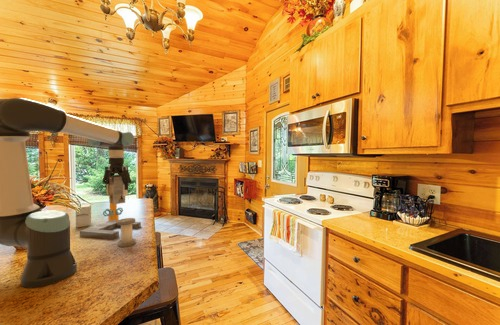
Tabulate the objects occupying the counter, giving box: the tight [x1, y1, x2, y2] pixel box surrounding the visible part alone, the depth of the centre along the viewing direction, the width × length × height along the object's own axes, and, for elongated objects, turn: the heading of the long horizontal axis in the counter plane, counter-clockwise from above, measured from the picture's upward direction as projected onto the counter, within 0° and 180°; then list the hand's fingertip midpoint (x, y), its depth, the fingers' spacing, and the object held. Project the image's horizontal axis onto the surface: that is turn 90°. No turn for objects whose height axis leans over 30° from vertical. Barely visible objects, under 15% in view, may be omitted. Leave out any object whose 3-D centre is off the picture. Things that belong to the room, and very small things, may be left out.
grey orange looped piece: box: [102, 202, 124, 221], centre depth 147 cm, size 12×10×15 cm
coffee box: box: [108, 174, 126, 205], centre depth 126 cm, size 9×6×16 cm
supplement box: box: [75, 204, 92, 228], centre depth 139 cm, size 7×7×13 cm
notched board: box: [79, 220, 142, 240], centre depth 127 cm, size 21×22×3 cm
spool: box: [117, 217, 137, 248], centre depth 108 cm, size 8×8×12 cm
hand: (117, 195), depth 126 cm, fingers closed on coffee box, 10 cm apart
